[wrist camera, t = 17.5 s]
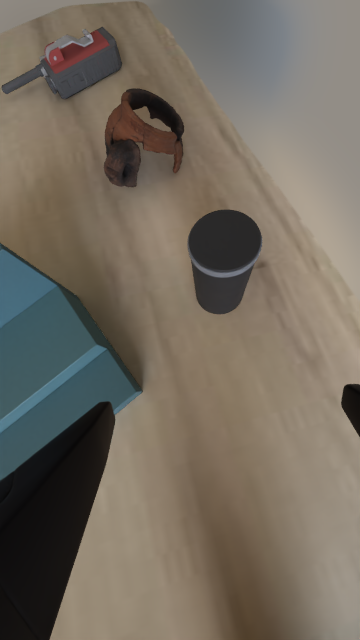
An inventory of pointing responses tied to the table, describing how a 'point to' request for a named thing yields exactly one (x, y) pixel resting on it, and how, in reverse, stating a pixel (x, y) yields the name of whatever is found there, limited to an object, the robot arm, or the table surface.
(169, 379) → the table surface
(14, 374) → the step shelf
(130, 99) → the brown looped band
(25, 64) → the table surface
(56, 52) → the walkie-talkie
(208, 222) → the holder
